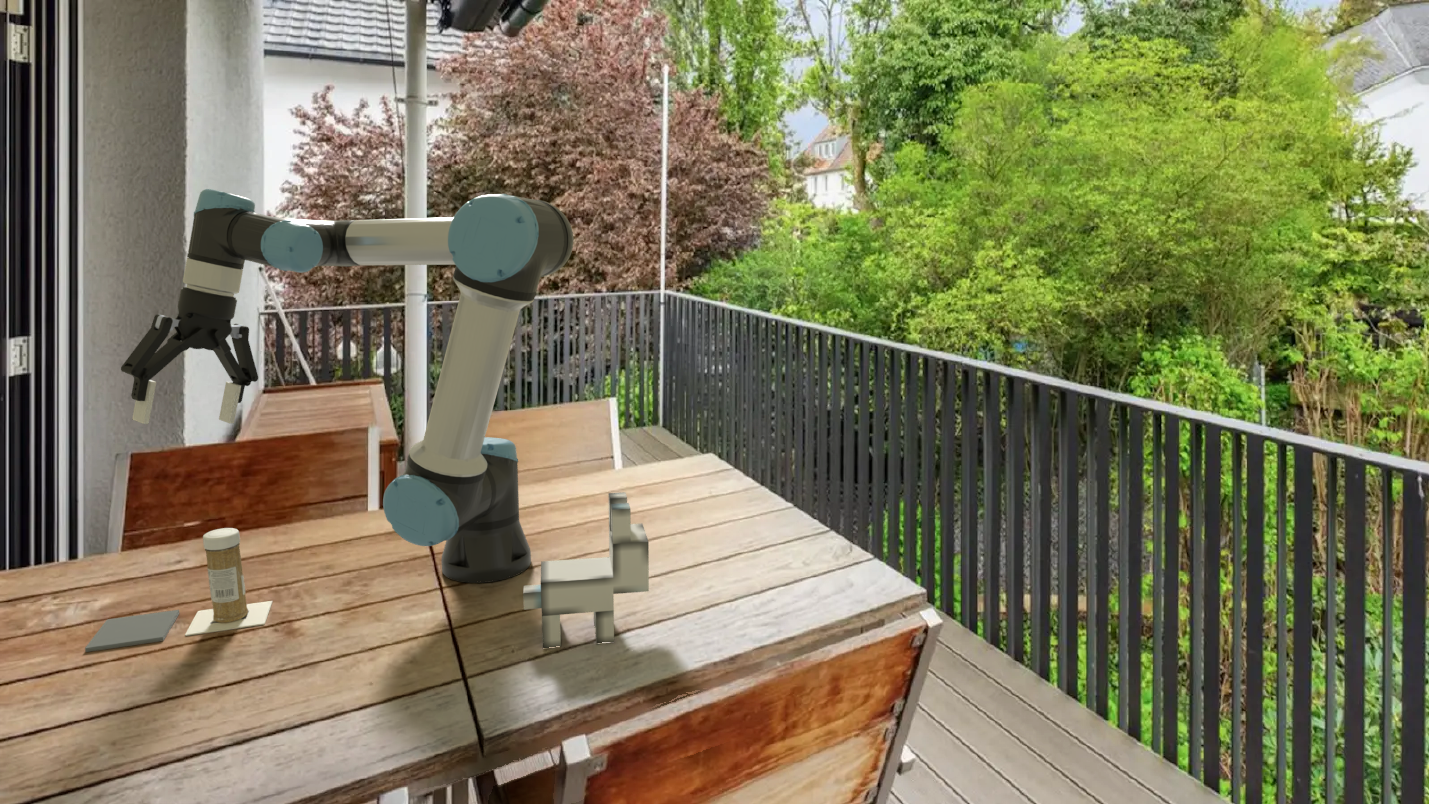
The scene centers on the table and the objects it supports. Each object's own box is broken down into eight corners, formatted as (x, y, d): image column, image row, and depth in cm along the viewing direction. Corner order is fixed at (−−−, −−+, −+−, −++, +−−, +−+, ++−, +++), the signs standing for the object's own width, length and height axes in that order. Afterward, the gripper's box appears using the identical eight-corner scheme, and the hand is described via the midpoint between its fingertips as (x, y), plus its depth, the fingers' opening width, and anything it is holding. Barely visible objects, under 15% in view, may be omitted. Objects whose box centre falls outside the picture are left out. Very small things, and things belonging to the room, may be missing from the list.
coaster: (179, 613, 118) (179, 609, 118) (163, 640, 110) (162, 636, 110) (107, 623, 115) (107, 619, 114) (85, 652, 106) (84, 648, 106)
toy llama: (526, 625, 116) (521, 497, 112) (642, 615, 119) (642, 491, 115) (524, 650, 108) (519, 514, 105) (648, 639, 112) (648, 507, 108)
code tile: (272, 601, 122) (272, 600, 122) (264, 624, 115) (264, 623, 115) (198, 612, 118) (197, 610, 118) (185, 636, 111) (184, 634, 111)
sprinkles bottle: (254, 610, 119) (245, 526, 116) (237, 624, 114) (227, 537, 112) (224, 610, 119) (214, 526, 116) (205, 624, 114) (195, 537, 112)
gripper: (265, 297, 135) (242, 416, 136) (108, 272, 111) (82, 415, 113) (296, 306, 132) (272, 426, 133) (141, 281, 109) (114, 428, 110)
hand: (185, 421), depth 123 cm, fingers open, 13 cm apart
